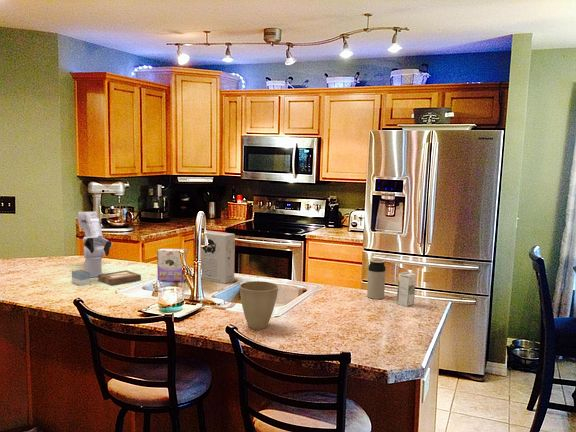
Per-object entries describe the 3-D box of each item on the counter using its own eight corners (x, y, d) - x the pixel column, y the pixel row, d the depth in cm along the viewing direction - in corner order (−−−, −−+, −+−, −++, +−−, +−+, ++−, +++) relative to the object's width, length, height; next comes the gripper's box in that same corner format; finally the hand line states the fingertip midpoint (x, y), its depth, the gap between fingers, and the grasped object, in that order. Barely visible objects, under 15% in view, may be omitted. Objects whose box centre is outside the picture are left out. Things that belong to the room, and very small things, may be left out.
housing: (72, 282, 254) (71, 271, 254) (81, 281, 258) (81, 269, 257) (80, 286, 248) (80, 274, 248) (90, 284, 252) (89, 272, 251)
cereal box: (234, 281, 267) (235, 233, 264) (225, 283, 260) (225, 235, 258) (203, 275, 278) (203, 229, 275) (193, 277, 272) (193, 231, 269)
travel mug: (387, 297, 243) (389, 260, 241) (378, 300, 237) (379, 262, 235) (373, 294, 248) (374, 257, 246) (363, 297, 242) (365, 259, 240)
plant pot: (246, 334, 187) (246, 292, 185) (233, 322, 200) (234, 282, 199) (283, 330, 193) (284, 288, 191) (269, 318, 206) (269, 279, 205)
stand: (98, 280, 260) (98, 274, 259) (126, 275, 271) (126, 270, 271) (112, 285, 250) (111, 279, 250) (140, 280, 262) (140, 274, 262)
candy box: (186, 279, 266) (186, 248, 265) (183, 282, 261) (183, 250, 259) (160, 278, 268) (160, 247, 266) (157, 281, 262) (156, 249, 260)
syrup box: (403, 301, 236) (404, 271, 234) (414, 304, 232) (416, 273, 230) (396, 304, 232) (398, 272, 230) (407, 307, 228) (409, 275, 226)
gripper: (85, 226, 254) (88, 244, 245) (113, 232, 263) (117, 250, 254) (79, 236, 257) (83, 254, 248) (107, 241, 266) (111, 259, 257)
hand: (100, 253), depth 251 cm, fingers open, 7 cm apart
